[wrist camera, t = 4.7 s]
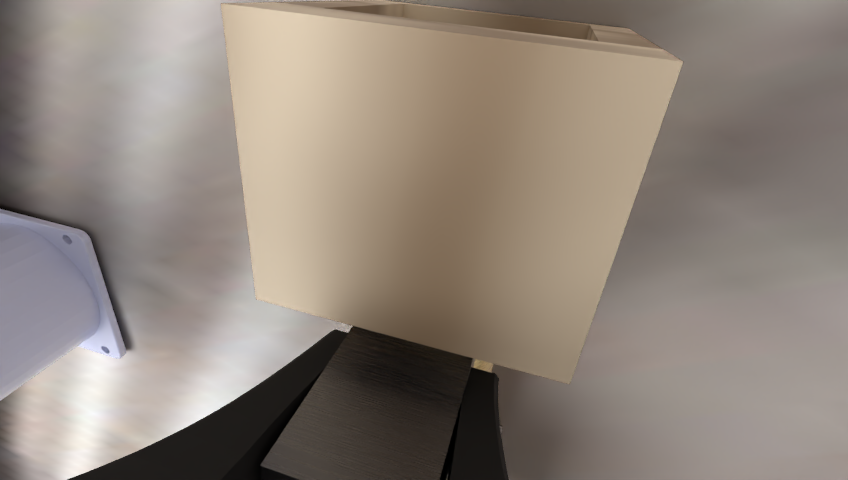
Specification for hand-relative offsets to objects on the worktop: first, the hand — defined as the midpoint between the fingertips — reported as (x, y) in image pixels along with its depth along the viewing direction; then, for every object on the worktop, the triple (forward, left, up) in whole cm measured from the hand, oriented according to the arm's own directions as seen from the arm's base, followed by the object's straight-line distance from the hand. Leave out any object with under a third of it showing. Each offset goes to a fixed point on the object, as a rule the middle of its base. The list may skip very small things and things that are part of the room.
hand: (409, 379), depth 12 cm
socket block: (0, +5, -6) cm, 8 cm away
